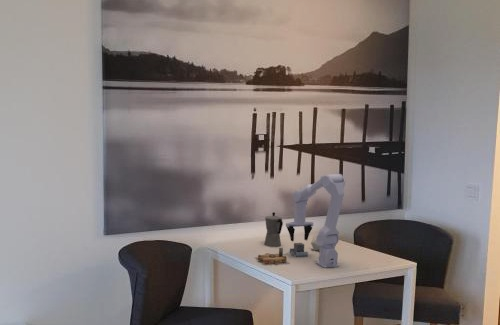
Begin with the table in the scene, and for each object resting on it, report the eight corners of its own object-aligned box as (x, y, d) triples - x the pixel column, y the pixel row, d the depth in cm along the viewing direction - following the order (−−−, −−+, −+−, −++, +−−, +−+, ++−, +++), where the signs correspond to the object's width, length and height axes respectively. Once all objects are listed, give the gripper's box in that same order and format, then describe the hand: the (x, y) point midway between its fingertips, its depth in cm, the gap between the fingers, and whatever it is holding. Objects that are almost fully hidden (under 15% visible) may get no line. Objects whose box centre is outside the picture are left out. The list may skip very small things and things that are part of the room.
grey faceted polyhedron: (322, 254, 297) (332, 238, 299) (308, 245, 298) (318, 229, 301) (320, 256, 305) (329, 240, 307) (306, 247, 306) (315, 232, 308)
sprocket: (291, 263, 274) (291, 251, 273) (263, 264, 269) (263, 253, 269) (280, 255, 288) (280, 244, 287) (253, 257, 283) (253, 246, 282)
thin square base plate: (289, 263, 274) (289, 263, 274) (264, 265, 270) (264, 264, 270) (279, 256, 287) (279, 255, 287) (254, 257, 283) (254, 257, 283)
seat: (307, 256, 288) (307, 252, 288) (296, 257, 286) (296, 252, 286) (300, 252, 297) (300, 247, 297) (289, 252, 295) (289, 248, 295)
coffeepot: (259, 243, 315) (260, 210, 313) (273, 241, 320) (274, 209, 318) (273, 249, 302) (274, 215, 300) (288, 247, 306) (289, 214, 305)
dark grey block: (303, 254, 290) (304, 244, 289) (296, 254, 289) (297, 244, 288) (300, 252, 294) (301, 242, 293) (293, 252, 292) (294, 243, 292)
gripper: (309, 212, 296) (308, 238, 297) (283, 213, 291) (282, 239, 292) (315, 214, 289) (314, 241, 290) (289, 215, 285) (288, 242, 286)
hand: (299, 240), depth 291 cm, fingers open, 7 cm apart
